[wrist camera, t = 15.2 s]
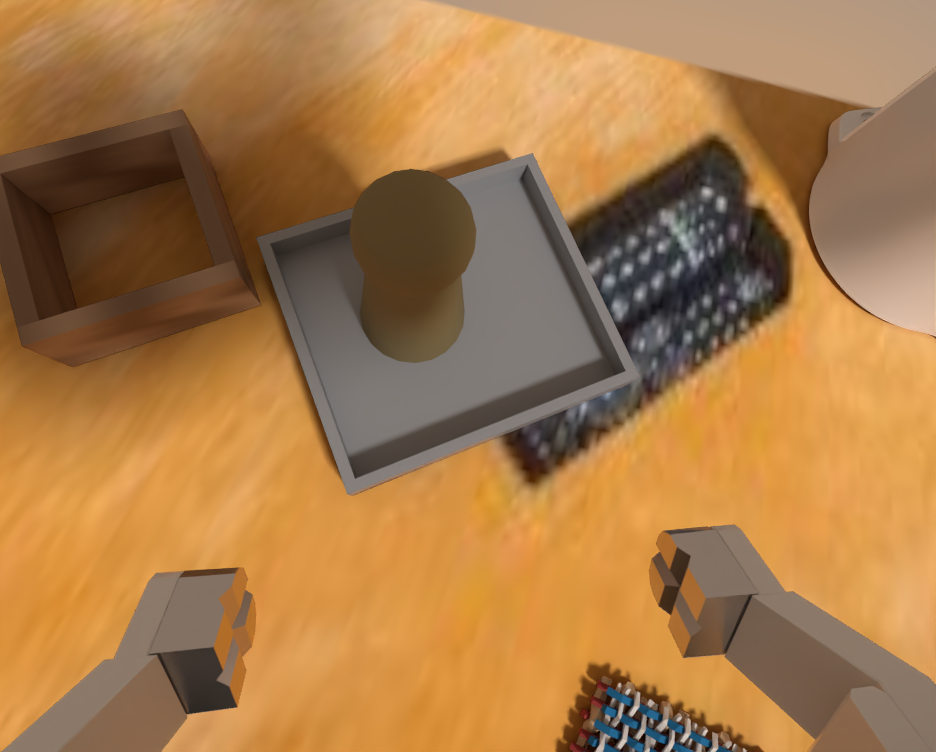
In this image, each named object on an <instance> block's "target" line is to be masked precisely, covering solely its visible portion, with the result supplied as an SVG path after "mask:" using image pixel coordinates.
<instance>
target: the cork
mask: <svg viewBox="0 0 936 752" xmlns="http://www.w3.org/2000/svg"><path fill="white" fill-rule="evenodd" d="M476 231H477V230H476V226H475V222H474V218H473V214H472V210H471V207H470V205H469V204H468V202H467V200H466V199H465V197H464V196H463V194H462V193H461V192H460V191H459V190H458V189H457V188H456V187H455V186H453V185H452V184H451V183H450V182H449V181H447V180H446V179H444V178H442V177H440V176H438V175H435V174H433V173H431V172H428V171H421V170H414V169H409V170H401V171H394V172H392V173H390V174H388V175H386V176H383V177H381V178H379V179H377V180H375V181H374V182H373V183H372V184H371V185H370V186H369V187H368V188H367V189H365V190H364V191H363V192H362V194H361V196H360V197H359V199H358V201H357V203H356V205H355V207H354V209H353V212H352V217H351V224H350V230H349V234H350V239H351V244H352V249H353V253H354V257H355V258H356V260H357V262H358V264H359V265H360V267H361V269H362V270H363V272H364V273H365V274H364V283H363V292H362V300H361V309H360V318H361V323H362V328H363V331H364V332H365V334H366V336H367V338H368V339H369V341H370V343H371V344H372V345H373V346H374V347H375V348H376V349H378V350H379V351H380V352H381V353H382V354H383V355H386V356H388V357H390V358H392V359H395V360H397V361H401V362H410V363H418V362H423V361H428V360H432V359H434V358H436V357H438V356H440V355H442V354H443V353H445V352H446V351H447V350H448V349H449V348H450V347H451V346H452V345H453V344H454V343H455V342H456V341H457V339H458V337H459V335H460V332H461V330H462V328H463V324H464V313H465V309H464V299H463V288H462V277H461V275H462V274H463V273H464V272H465V271H466V269H467V267H468V265H469V262H470V260H471V258H472V256H473V253H474V250H475V242H476Z"/></svg>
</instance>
